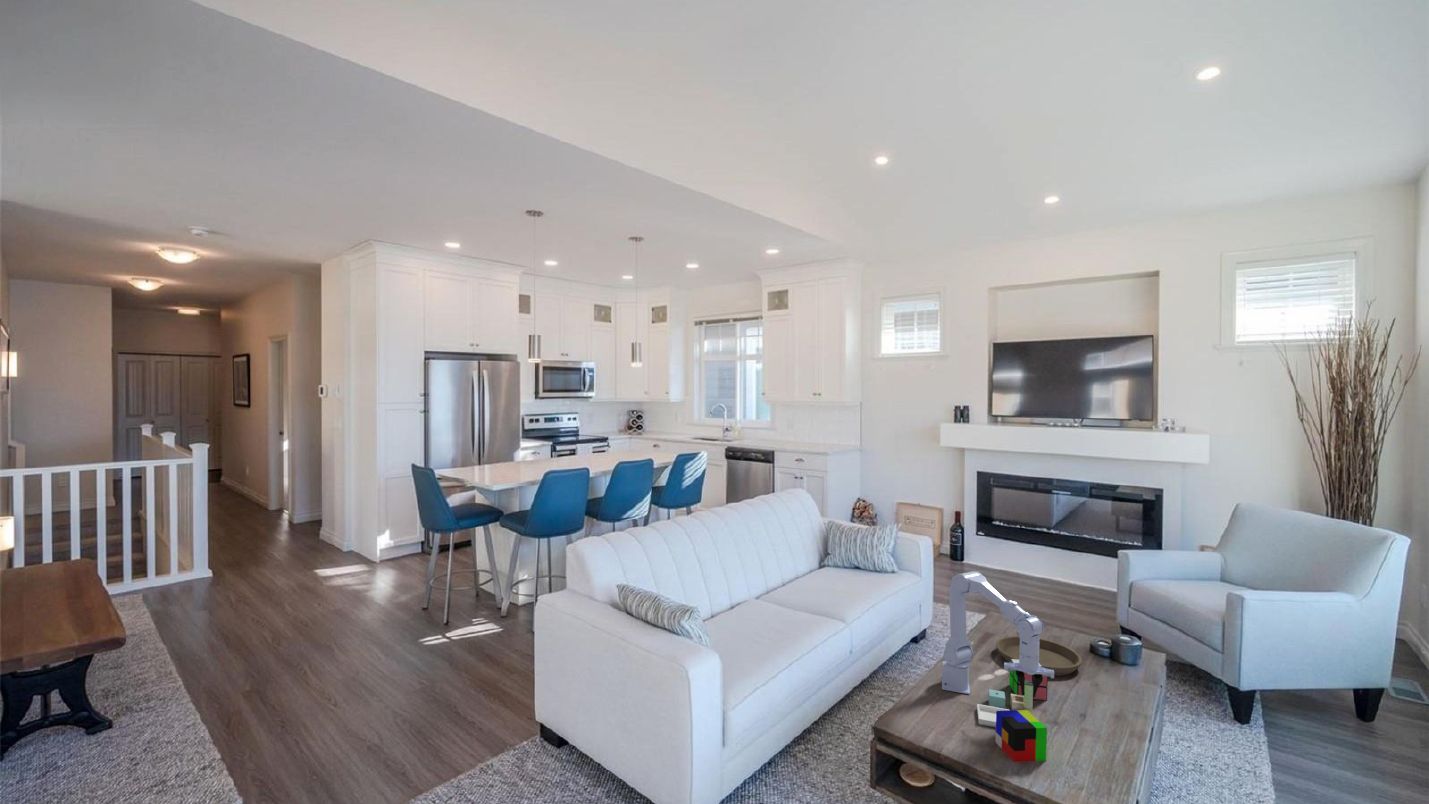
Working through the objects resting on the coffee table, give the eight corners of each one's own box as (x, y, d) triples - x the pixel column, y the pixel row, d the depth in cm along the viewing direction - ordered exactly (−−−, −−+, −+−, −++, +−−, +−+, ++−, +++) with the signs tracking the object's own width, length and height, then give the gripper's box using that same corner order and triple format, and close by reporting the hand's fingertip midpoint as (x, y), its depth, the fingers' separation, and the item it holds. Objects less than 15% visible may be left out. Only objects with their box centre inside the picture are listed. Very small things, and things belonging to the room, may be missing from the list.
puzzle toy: (995, 742, 189) (996, 710, 189) (1026, 741, 190) (1026, 709, 190) (1014, 762, 179) (1014, 728, 179) (1046, 760, 180) (1046, 727, 180)
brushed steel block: (1023, 707, 199) (1024, 683, 198) (1022, 703, 201) (1023, 679, 201) (1032, 708, 198) (1033, 684, 197) (1031, 705, 200) (1032, 681, 200)
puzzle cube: (1047, 701, 215) (1048, 673, 214) (1017, 698, 216) (1017, 670, 216) (1037, 687, 224) (1038, 660, 224) (1008, 684, 226) (1009, 658, 226)
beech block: (1012, 713, 206) (1012, 701, 206) (1010, 704, 212) (1010, 693, 211) (1031, 717, 204) (1032, 705, 204) (1029, 708, 209) (1029, 697, 209)
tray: (978, 724, 199) (978, 718, 199) (977, 708, 209) (977, 703, 209) (1012, 730, 195) (1013, 725, 195) (1009, 715, 205) (1009, 709, 205)
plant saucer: (1003, 639, 268) (1003, 629, 268) (1085, 658, 250) (1085, 647, 250) (988, 664, 243) (988, 653, 243) (1077, 687, 225) (1078, 675, 225)
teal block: (989, 707, 210) (989, 695, 210) (988, 700, 215) (988, 688, 215) (1005, 710, 208) (1005, 698, 208) (1003, 703, 213) (1004, 691, 213)
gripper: (1006, 655, 198) (1004, 696, 198) (1056, 663, 192) (1055, 705, 193) (1004, 646, 204) (1003, 686, 205) (1052, 654, 199) (1051, 694, 199)
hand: (1028, 694), depth 199 cm, fingers closed on brushed steel block, 2 cm apart
